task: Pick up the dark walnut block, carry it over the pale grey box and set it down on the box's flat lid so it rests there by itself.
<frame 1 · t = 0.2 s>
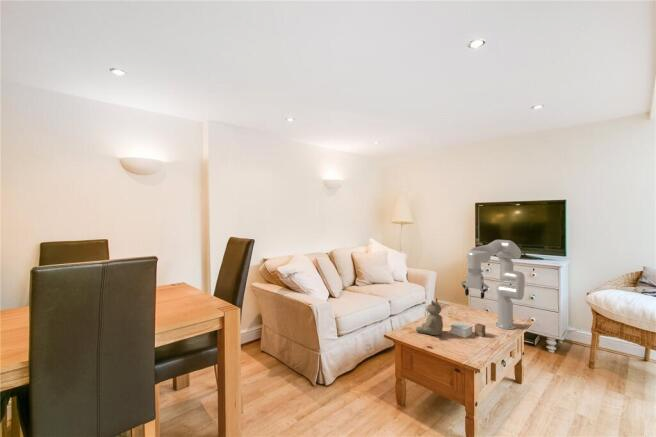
hand: (474, 296, 196), 30 cm above the table, fingers open, 9 cm apart
pale grey box: (461, 334, 211), on the table
grey cat statue: (429, 333, 214), on the table
walnut block: (480, 335, 209), on the table
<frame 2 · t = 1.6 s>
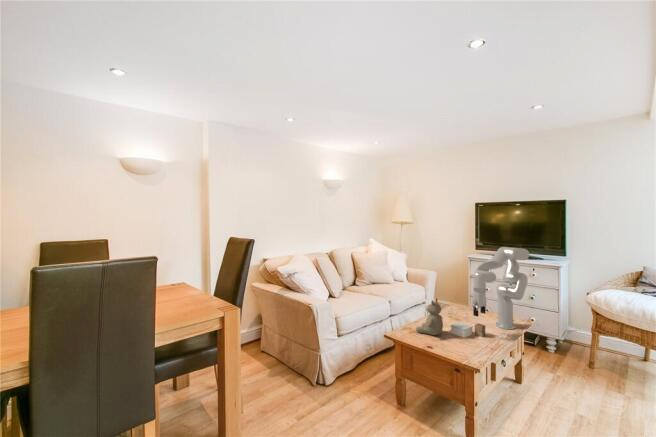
hand: (479, 314, 208), 15 cm above the table, fingers open, 9 cm apart
nothing on the table moved.
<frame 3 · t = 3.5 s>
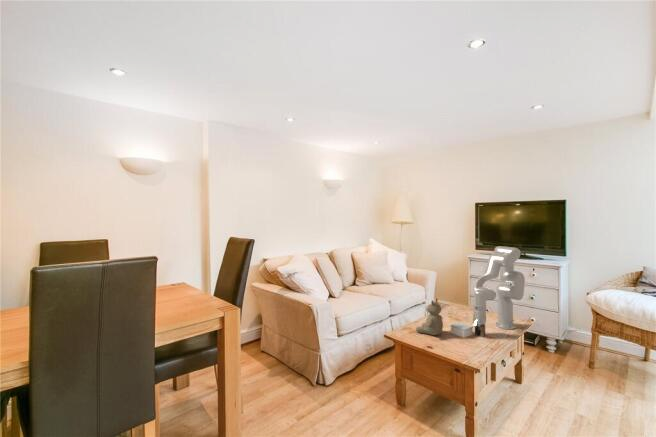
hand: (480, 333, 209), 1 cm above the table, fingers closed on walnut block, 5 cm apart
walnut block: (480, 335, 209), on the table, touching gripper
everything else where it was.
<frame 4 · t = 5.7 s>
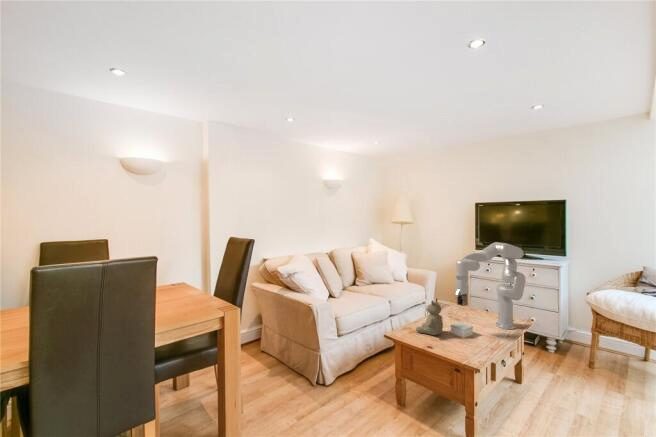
hand: (462, 303, 210), 22 cm above the table, fingers closed on walnut block, 5 cm apart
walnut block: (462, 304, 210), point 21 cm above the table, touching gripper
everything else where it was.
when the fingers open (8 cm above the table, at t = 8.0 s): walnut block drops 1 cm, resting on pale grey box.
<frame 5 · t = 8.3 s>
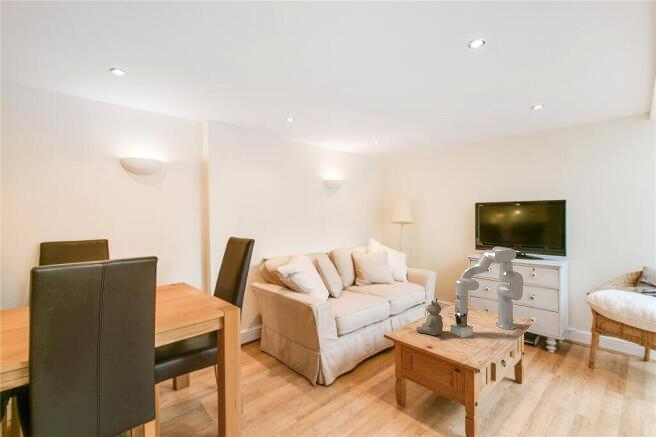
hand: (461, 321, 211), 8 cm above the table, fingers open, 8 cm apart
pale grey box: (461, 334, 211), on the table, touching walnut block
walnut block: (461, 325, 211), point 6 cm above the table, touching pale grey box
everything else where it was.
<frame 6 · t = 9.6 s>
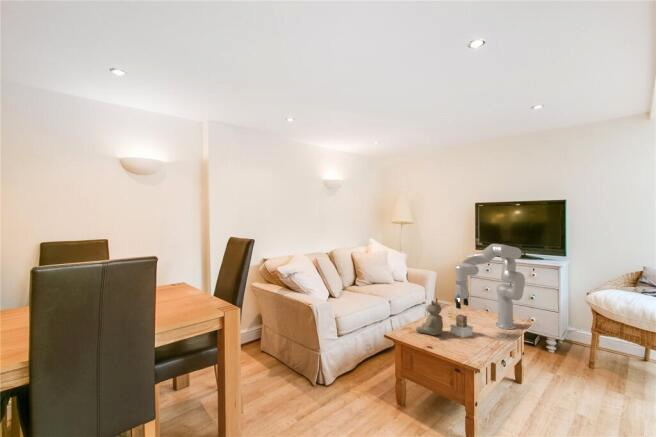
hand: (462, 306, 211), 19 cm above the table, fingers open, 9 cm apart
pale grey box: (461, 334, 211), on the table
walnut block: (461, 325, 211), point 6 cm above the table
everything else where it was.
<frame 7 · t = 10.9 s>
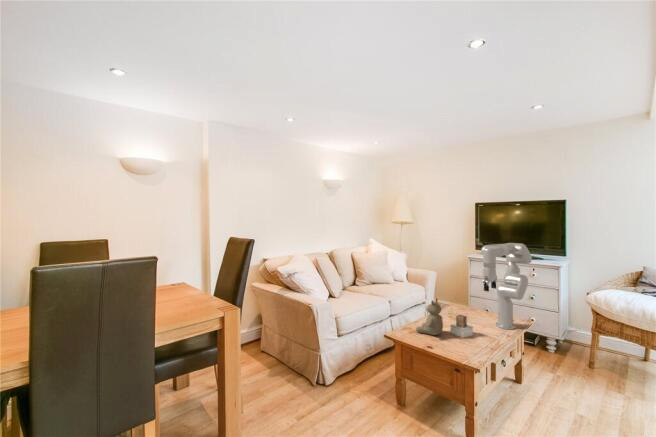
hand: (490, 289, 209), 32 cm above the table, fingers open, 9 cm apart
pale grey box: (461, 334, 211), on the table, touching walnut block
walnut block: (461, 325, 211), point 6 cm above the table, touching pale grey box
everything else where it was.
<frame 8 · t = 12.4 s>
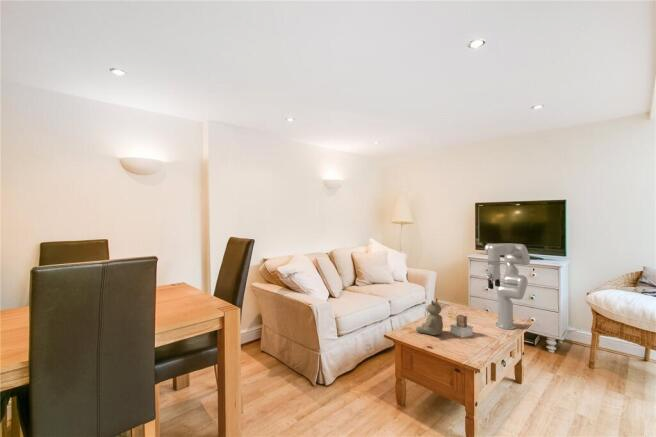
hand: (494, 287, 208), 33 cm above the table, fingers open, 9 cm apart
pale grey box: (461, 334, 211), on the table
walnut block: (461, 325, 211), point 6 cm above the table
everything else where it was.
at the end: walnut block inside the target area on the pale grey box (0.1 cm from its centre), point 6.0 cm above the pale grey box's base; walnut block tilted 0°; walnut block touching nothing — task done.
